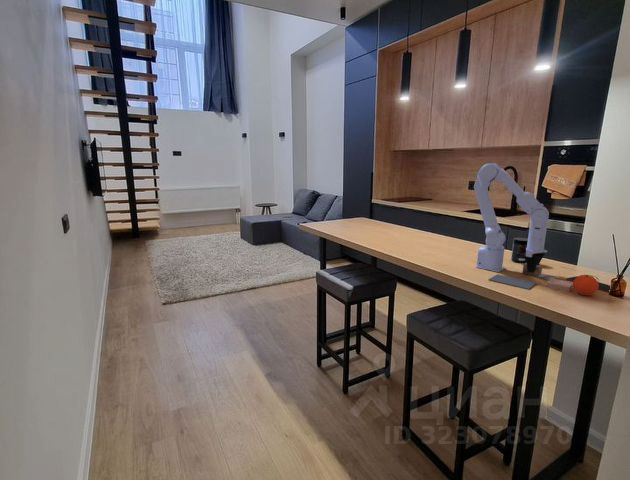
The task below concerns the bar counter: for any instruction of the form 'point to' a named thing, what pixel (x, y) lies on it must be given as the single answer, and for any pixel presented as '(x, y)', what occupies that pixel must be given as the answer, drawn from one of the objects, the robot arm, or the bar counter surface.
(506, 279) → the mat
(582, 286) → the clementine
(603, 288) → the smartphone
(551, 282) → the tile
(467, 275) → the bar counter surface
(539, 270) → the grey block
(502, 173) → the robot arm
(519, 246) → the supplement container
